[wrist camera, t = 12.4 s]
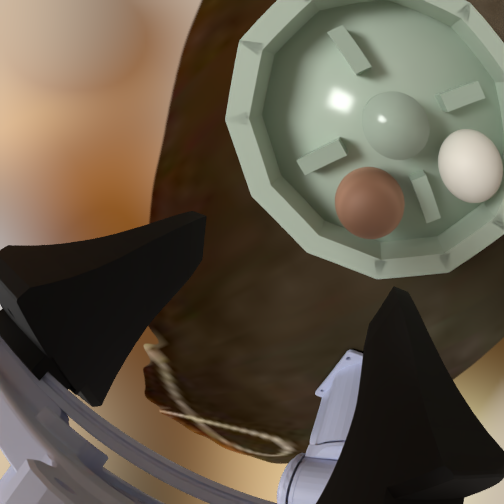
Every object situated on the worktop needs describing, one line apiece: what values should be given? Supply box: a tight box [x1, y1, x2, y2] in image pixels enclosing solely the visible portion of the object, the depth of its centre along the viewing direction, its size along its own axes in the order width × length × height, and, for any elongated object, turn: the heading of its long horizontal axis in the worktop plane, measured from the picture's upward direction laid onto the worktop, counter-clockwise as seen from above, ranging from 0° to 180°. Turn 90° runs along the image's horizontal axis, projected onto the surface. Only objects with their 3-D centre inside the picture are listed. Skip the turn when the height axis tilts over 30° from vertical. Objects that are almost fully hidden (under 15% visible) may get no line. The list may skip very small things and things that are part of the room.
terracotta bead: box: [335, 167, 405, 239], centre depth 15 cm, size 4×4×4 cm
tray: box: [225, 0, 504, 279], centre depth 13 cm, size 18×18×3 cm
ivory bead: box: [438, 129, 503, 203], centre depth 11 cm, size 4×4×4 cm
